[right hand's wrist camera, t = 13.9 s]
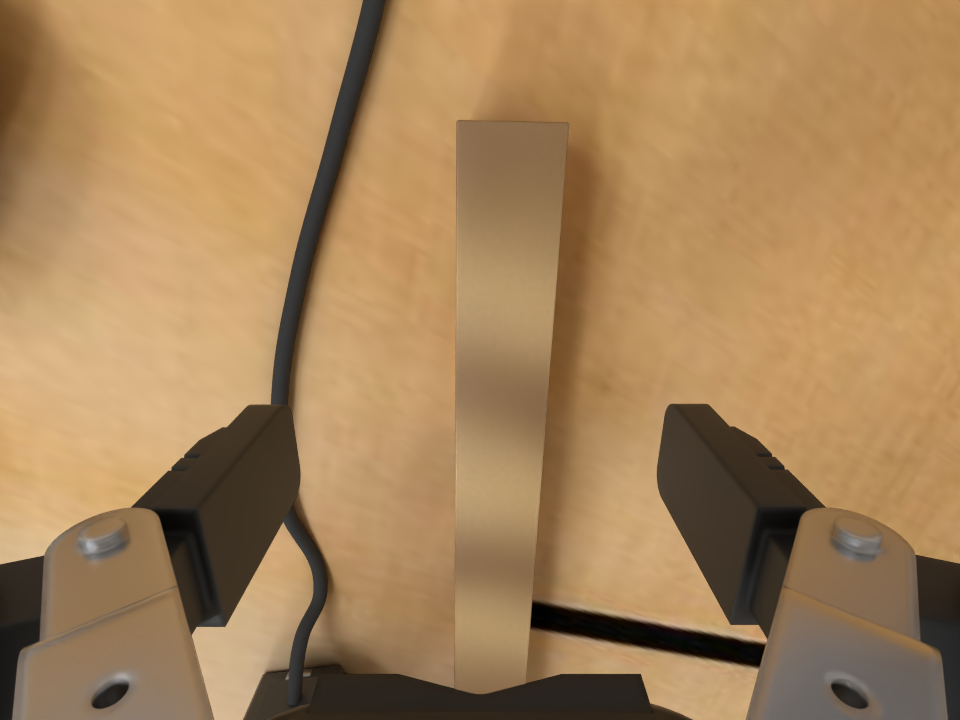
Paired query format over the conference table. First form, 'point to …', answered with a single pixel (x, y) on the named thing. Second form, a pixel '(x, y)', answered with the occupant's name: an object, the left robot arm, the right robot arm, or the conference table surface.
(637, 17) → the conference table surface
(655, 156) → the conference table surface
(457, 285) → the beam
